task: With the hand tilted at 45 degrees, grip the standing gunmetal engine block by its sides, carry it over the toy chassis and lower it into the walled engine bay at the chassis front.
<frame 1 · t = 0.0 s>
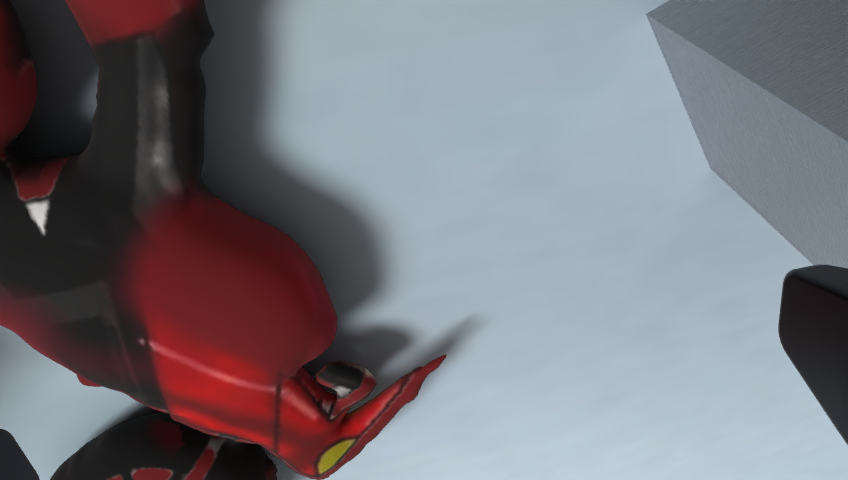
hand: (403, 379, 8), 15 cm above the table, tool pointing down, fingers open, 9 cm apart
engine block: (761, 49, 22), on the table
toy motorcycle: (166, 249, 24), on the table
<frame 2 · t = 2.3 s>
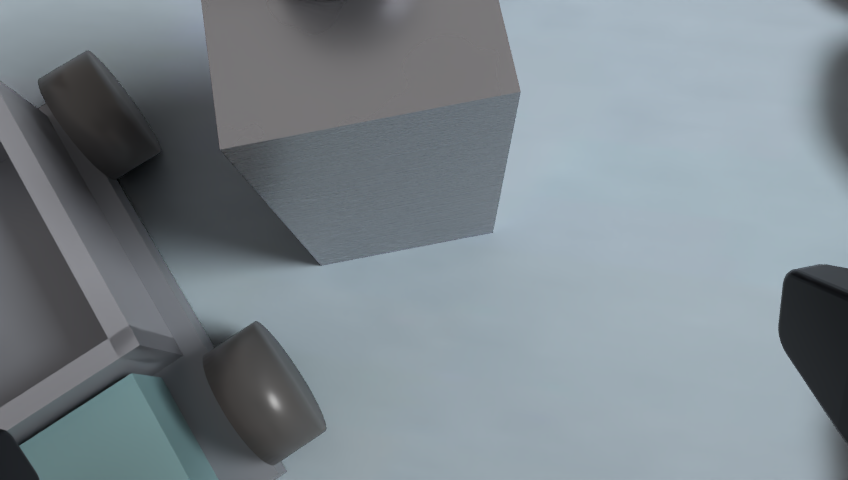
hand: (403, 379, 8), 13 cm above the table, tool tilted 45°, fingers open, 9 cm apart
engine block: (390, 160, 23), on the table
chassis: (5, 313, 23), on the table
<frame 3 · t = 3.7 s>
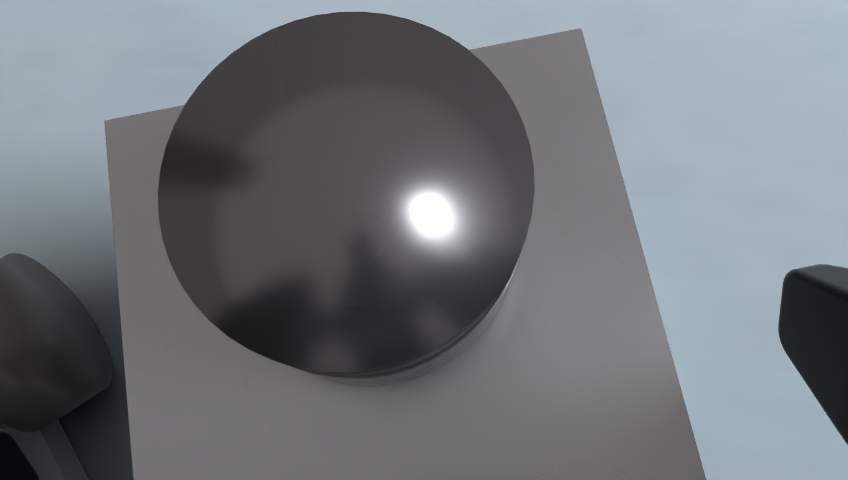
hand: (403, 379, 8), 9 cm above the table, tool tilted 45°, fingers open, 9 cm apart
engine block: (427, 386, 17), on the table
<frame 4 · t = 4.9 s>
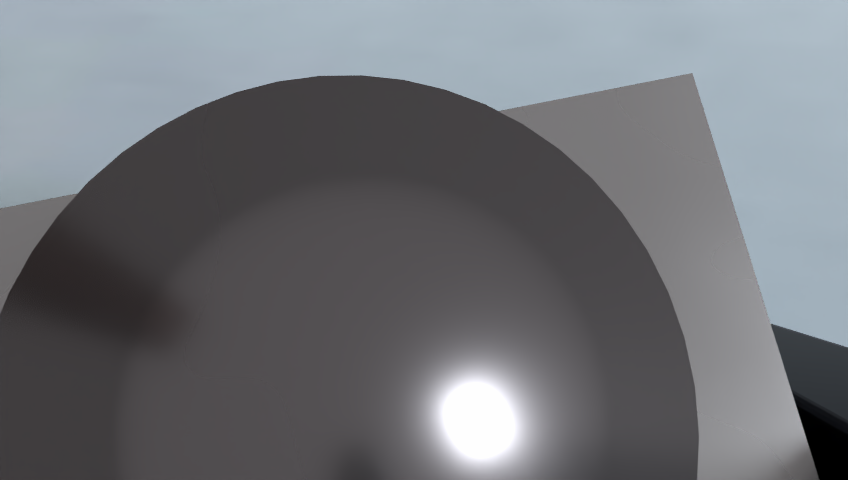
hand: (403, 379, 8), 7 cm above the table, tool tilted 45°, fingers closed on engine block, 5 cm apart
engine block: (440, 468, 14), on the table, touching gripper
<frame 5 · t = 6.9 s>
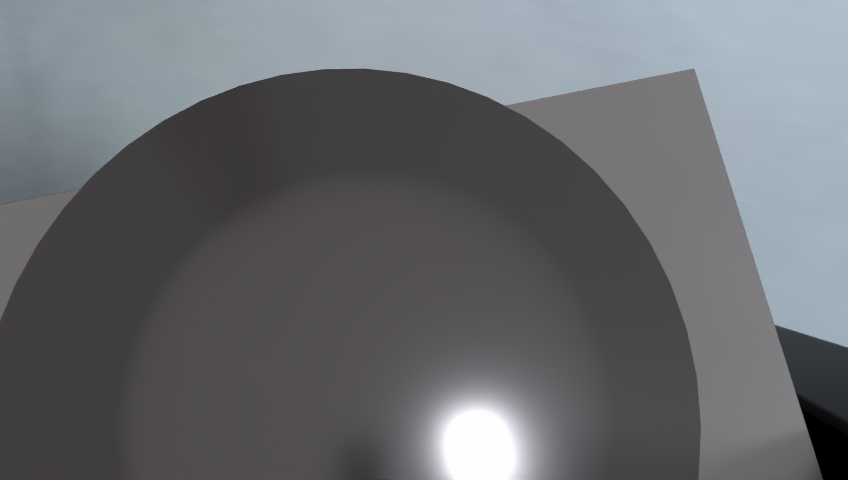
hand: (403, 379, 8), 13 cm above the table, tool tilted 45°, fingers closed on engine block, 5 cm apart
engine block: (442, 465, 14), point 7 cm above the table, touching gripper
when the fingers open (9 cm above the table, at t = 8.7 s): engine block drops 1 cm, resting on chassis.
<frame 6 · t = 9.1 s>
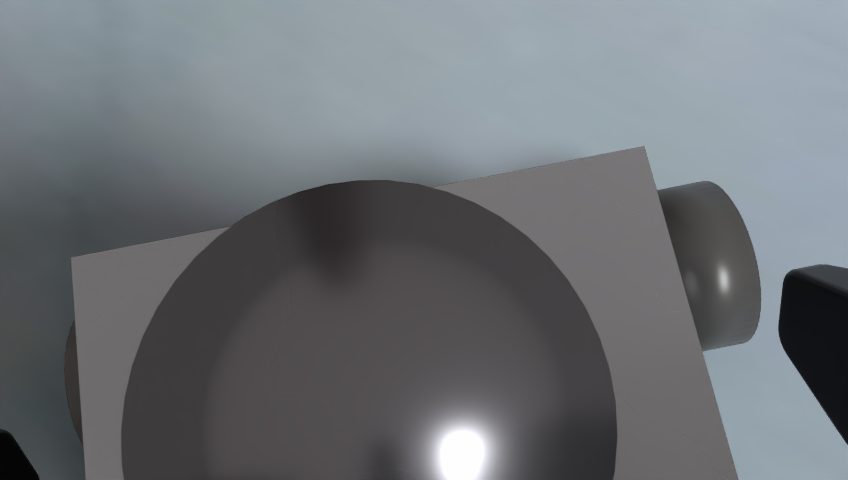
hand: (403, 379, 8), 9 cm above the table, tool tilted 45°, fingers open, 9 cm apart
engine block: (442, 463, 16), point 1 cm above the table, touching chassis
chassis: (443, 459, 17), on the table
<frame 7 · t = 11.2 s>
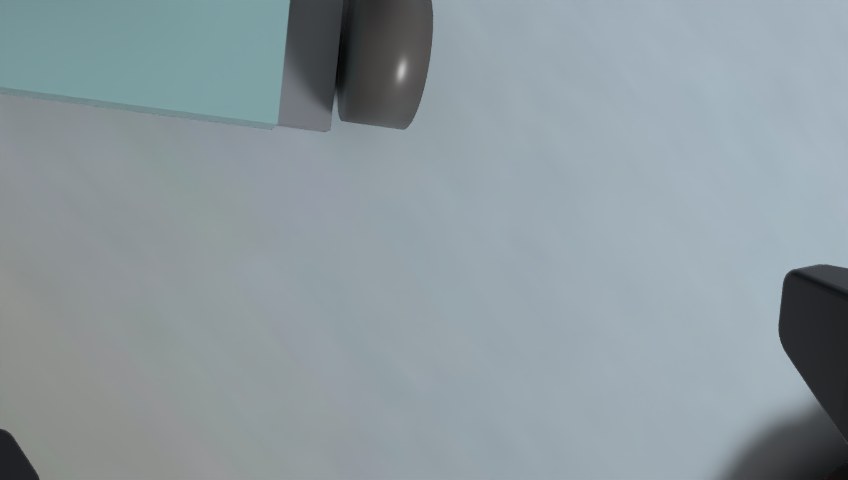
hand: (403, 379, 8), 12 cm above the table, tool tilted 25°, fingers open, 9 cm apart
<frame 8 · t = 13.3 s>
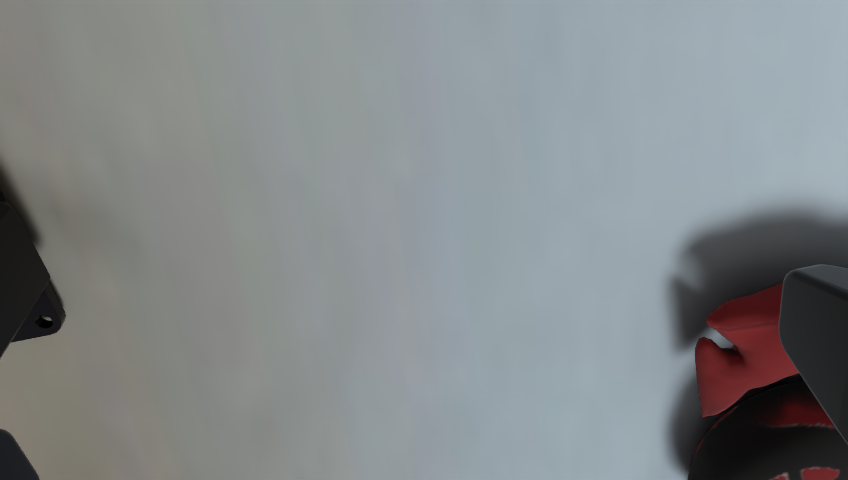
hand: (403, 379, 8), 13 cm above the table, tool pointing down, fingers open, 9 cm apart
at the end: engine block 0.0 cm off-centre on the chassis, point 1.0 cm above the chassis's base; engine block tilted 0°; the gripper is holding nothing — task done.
